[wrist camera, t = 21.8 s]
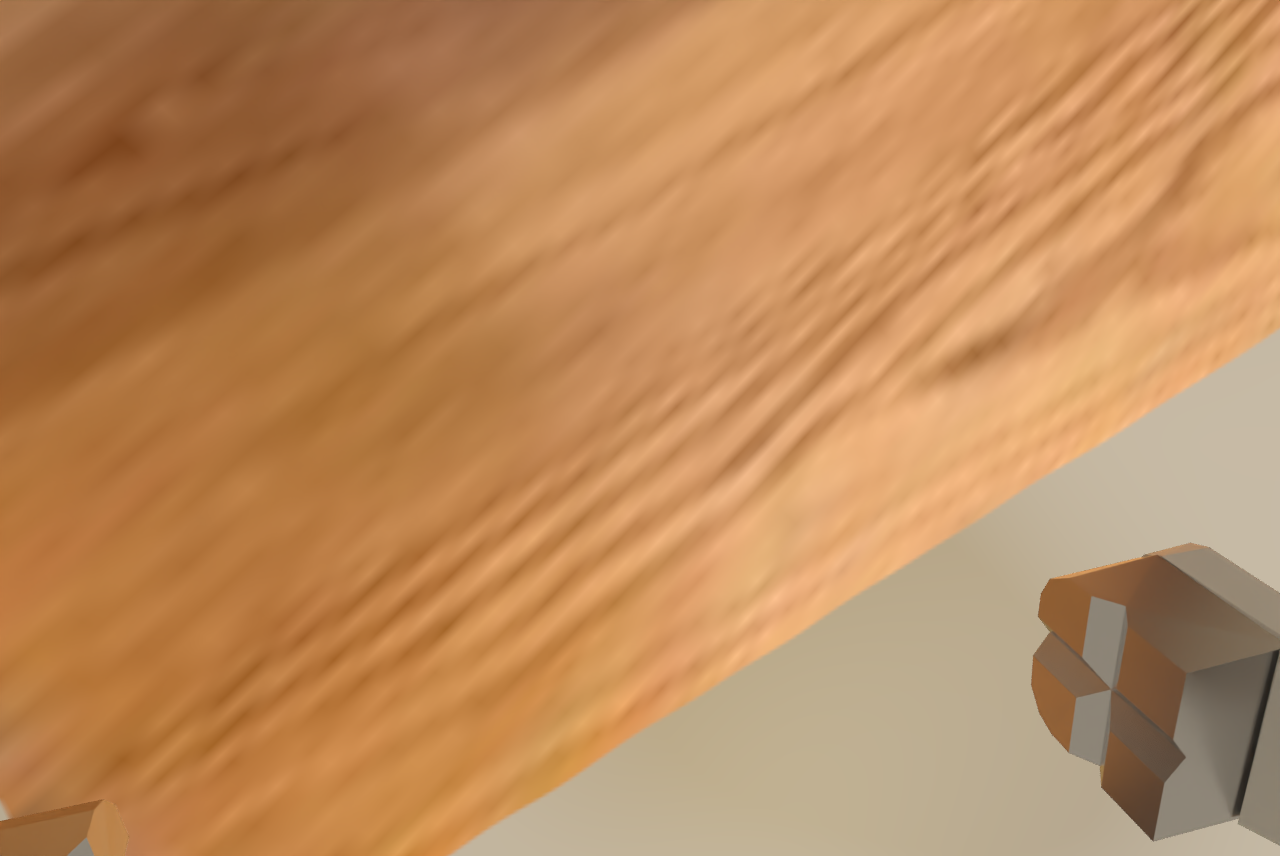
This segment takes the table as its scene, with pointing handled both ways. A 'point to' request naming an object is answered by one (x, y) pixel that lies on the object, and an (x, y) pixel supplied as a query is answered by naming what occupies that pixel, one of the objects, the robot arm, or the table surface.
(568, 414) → the table surface
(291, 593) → the table surface
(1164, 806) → the robot arm
